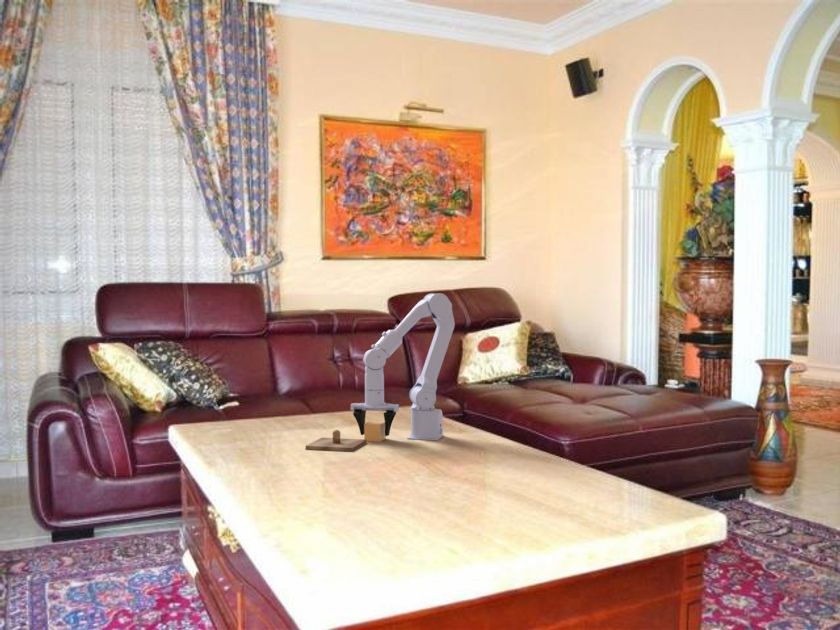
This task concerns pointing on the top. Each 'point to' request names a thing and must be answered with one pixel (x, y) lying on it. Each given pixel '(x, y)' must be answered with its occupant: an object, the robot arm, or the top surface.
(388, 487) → the top surface
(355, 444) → the brown rectangular slab
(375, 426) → the orange cube
